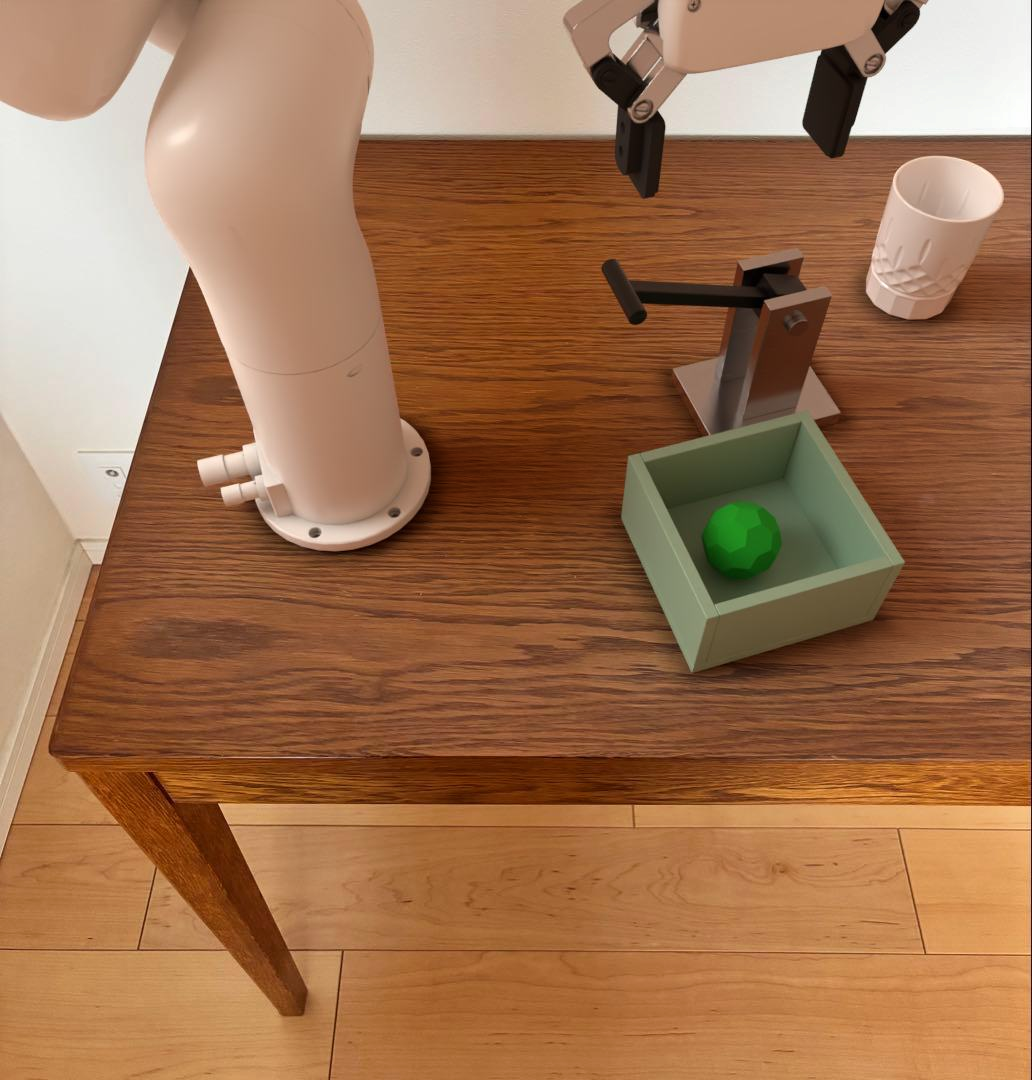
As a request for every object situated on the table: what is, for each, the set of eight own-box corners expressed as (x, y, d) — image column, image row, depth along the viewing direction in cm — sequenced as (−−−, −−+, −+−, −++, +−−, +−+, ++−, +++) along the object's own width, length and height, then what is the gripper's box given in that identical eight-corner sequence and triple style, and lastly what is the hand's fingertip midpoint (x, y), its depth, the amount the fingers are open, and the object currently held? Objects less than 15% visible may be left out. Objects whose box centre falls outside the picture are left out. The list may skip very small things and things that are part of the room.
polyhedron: (695, 587, 64) (705, 545, 60) (699, 526, 67) (709, 483, 63) (773, 596, 64) (788, 555, 60) (773, 534, 66) (788, 491, 62)
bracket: (712, 455, 71) (739, 335, 62) (670, 379, 76) (689, 255, 66) (837, 423, 73) (883, 300, 63) (789, 350, 77) (825, 225, 68)
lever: (622, 332, 60) (637, 301, 59) (595, 280, 63) (608, 249, 61) (803, 338, 66) (821, 309, 64) (771, 290, 69) (787, 261, 67)
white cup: (958, 331, 78) (1008, 227, 70) (856, 319, 79) (894, 215, 71) (954, 266, 82) (1000, 161, 74) (857, 255, 83) (892, 150, 75)
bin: (691, 673, 61) (706, 619, 56) (620, 518, 68) (627, 455, 63) (873, 620, 63) (905, 562, 58) (786, 474, 70) (807, 409, 65)
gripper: (973, -339, 37) (854, 88, 51) (538, -282, 35) (539, 152, 49) (1095, -274, 33) (929, 171, 47) (612, -203, 31) (589, 246, 45)
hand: (731, 161), depth 48 cm, fingers open, 9 cm apart
